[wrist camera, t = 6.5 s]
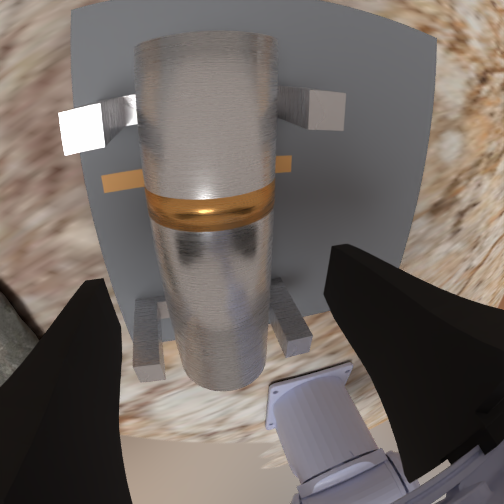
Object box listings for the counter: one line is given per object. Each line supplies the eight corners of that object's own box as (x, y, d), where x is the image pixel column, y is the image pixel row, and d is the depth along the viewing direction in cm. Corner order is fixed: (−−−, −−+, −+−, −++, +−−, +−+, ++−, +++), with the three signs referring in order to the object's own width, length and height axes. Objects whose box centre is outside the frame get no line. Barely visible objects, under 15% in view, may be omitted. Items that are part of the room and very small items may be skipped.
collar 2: (279, 293, 17) (309, 351, 14) (140, 315, 16) (140, 382, 12) (280, 277, 17) (312, 335, 13) (135, 299, 15) (132, 367, 11)
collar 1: (289, 112, 12) (343, 130, 8) (99, 129, 10) (64, 155, 7) (289, 86, 11) (345, 93, 8) (96, 101, 10) (58, 113, 6)
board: (385, 290, 21) (390, 295, 21) (134, 338, 17) (134, 345, 17) (429, 37, 11) (437, 38, 11) (75, 12, 7) (71, 9, 7)
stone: (117, 404, 20) (4, 247, 14) (118, 442, 17) (-24, 275, 10) (32, 427, 19) (-71, 303, 12) (27, 459, 15) (-93, 330, 8)
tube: (253, 320, 17) (277, 380, 14) (178, 332, 16) (187, 398, 13) (255, 49, 10) (302, 35, 6) (140, 55, 9) (123, 39, 5)
